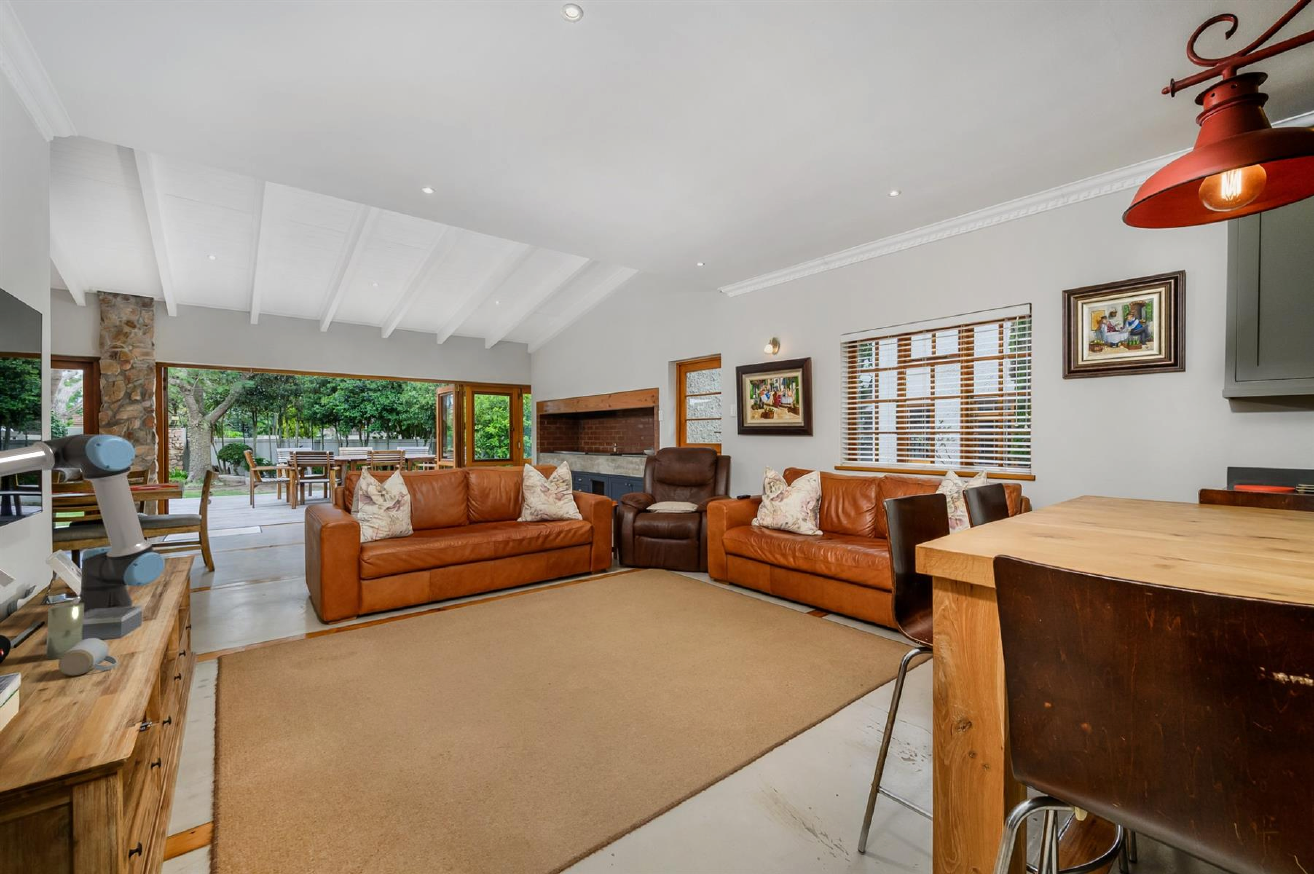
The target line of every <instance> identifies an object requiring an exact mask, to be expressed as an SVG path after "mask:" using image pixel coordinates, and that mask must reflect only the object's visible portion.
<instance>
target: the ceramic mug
mask: <svg viewBox="0 0 1314 874" xmlns="http://www.w3.org/2000/svg"><path fill="white" fill-rule="evenodd" d="M109 653H110V647H109V645H108V644H107V642H105V641H104V639H101V640H100V639H97V638H89V639H85V640H82V641H80V642H79V643H77V644H76V645H75V646H73V647H72V648H71V649H70V650H68V651H67V652H66V653H64V655H63V656H62V657H61V659H58V660H59V661H58V669H59V671H60V672H61V673H63V674H64V675H67V676H74V677H75V676H80V675H82V674H83V675H84V674H85V673H87V672H89V671H92V670H96V671H103V672H104V671H110V670H109V669H111V668H113V669H114V668H115V667H116V666H117V664H118V662H119V661H118V659H117V658H116V657H114V656H113V655H110V654H109ZM104 662H108V663H110V664H108V665H107V664H102V663H104ZM111 670H112V669H111Z"/></svg>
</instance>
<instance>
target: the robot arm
mask: <svg viewBox="0 0 1314 874" xmlns="http://www.w3.org/2000/svg"><path fill="white" fill-rule="evenodd" d="M135 458H136V452H135V449H134V446H133V445H132V444H131V443H130V441H129V440H127V439H125V438H124V437H121V436H116V435H112V434H87V433H86V434H85V433H81V434H80V433H79V434H78V433H77V434H71V435H66V436H61V437H57V438H52V439H46V440H41V441H35V442H34V443H32V445H31V446H25V447H19V448H13V449H7V450H0V477H5V476H9V475H15V474H20V473H26V472H30V471H31V472H32V471H35V470H42V471H46V472H47V471H52V470H59V469H60V470H61V469H79V470H80V471H81V474H82V477H83V480H85V481H88V482H90V483H91V486H92V488H93V492H94V494H95V498H96V501H97V505H98V508H99V512H100V515H101V519H102V522H103V526H104V528H105V532H106V535H107V539H108V542H109V545H108V546H102V547H94V548H89V549H86V550H85V551H84V552H83V553H82V558H81V580H80V593H79V595H78V596H79V597H81V600H80V601H79V602H81V603H84V613H85V612H87V611H89V610H91V609H96V608H113V607H131V606H133V600H132V598H131V595H130V592H129V591H128V590H129V589H128V588H127V586H129V587H143V586H147V585H150V584H152V583H154V582H155V581H156V580H157V579H159V578H160V577H161V574H162V573H163V572H164V569H165V566H166V561H165V558H164V557H163V555H162V554H160V553H158V552H154V551H155V550H154V548H153V544H152V542H151V541H149V540H146V539H145V537H144V532H143V529H142V526H141V523H140V520H139V519H140V518H139V516H138V513H137V509H136V505H135V501H134V498H133V495H132V492H131V491H132V490H131V487H130V484H129V480H128V475H129V474H130V472H131V471H132V468H131V465H132V464H133V461H134V460H135ZM14 581H16V578H15V577H14V576H12V575H11V574H9V573H7V572H6V571H4V570H3V569H1V568H0V586H1V587H3V588H6V587H7V586H8V585H10V584H11V583H13V582H14Z"/></svg>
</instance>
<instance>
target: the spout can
mask: <svg viewBox="0 0 1314 874" xmlns="http://www.w3.org/2000/svg"><path fill="white" fill-rule="evenodd" d="M80 600H81V597H79V595H78V596H75V597H74V598H73V599H72V600H71V602H66V603H60V604H56V605H55V604H54V605H52V606H49V607H48V611H47V612H48V617H47V633H46V652H45V659H46V660H51V661H53V660H60V659H61V657H62V656H63V655H64V653H66V652H67V651H68V650H70V649H71V648H72V647H73V646H75V645H76V644H77V643H79V642H80V641H82V637H83V618H84V603H81V602H79V601H80Z"/></svg>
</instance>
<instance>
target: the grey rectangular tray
mask: <svg viewBox="0 0 1314 874" xmlns="http://www.w3.org/2000/svg"><path fill="white" fill-rule="evenodd" d="M142 620H143V605H137V606H136V605H135V606H133V605H132V606H131V607H113V608H96V609H91V610H89V611H87V612H85V613H84V618H83V637H82V640H85V639H89V638H97V639H101V640H112V639H122V638H123V637H125V636H127V635H128V634H130V633H132V632H134V631H135V630H137V629H138V628H139V627H141V626H142V622H143V621H142ZM131 631H132V632H131Z"/></svg>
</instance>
